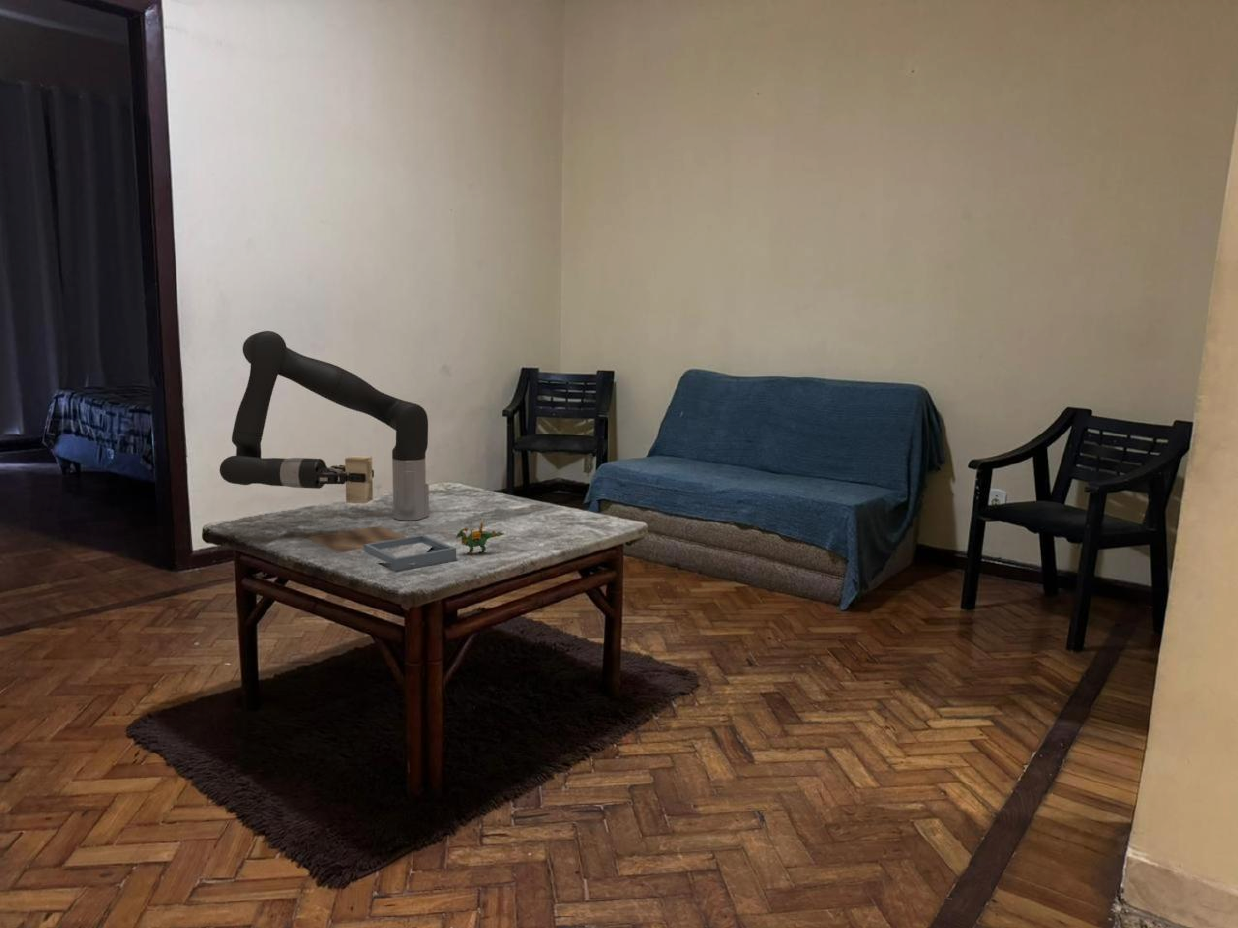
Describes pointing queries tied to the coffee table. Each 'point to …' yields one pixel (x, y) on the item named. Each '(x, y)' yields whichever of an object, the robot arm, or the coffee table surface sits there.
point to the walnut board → (355, 538)
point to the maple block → (359, 490)
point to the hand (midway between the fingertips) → (369, 475)
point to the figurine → (476, 538)
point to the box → (431, 557)
